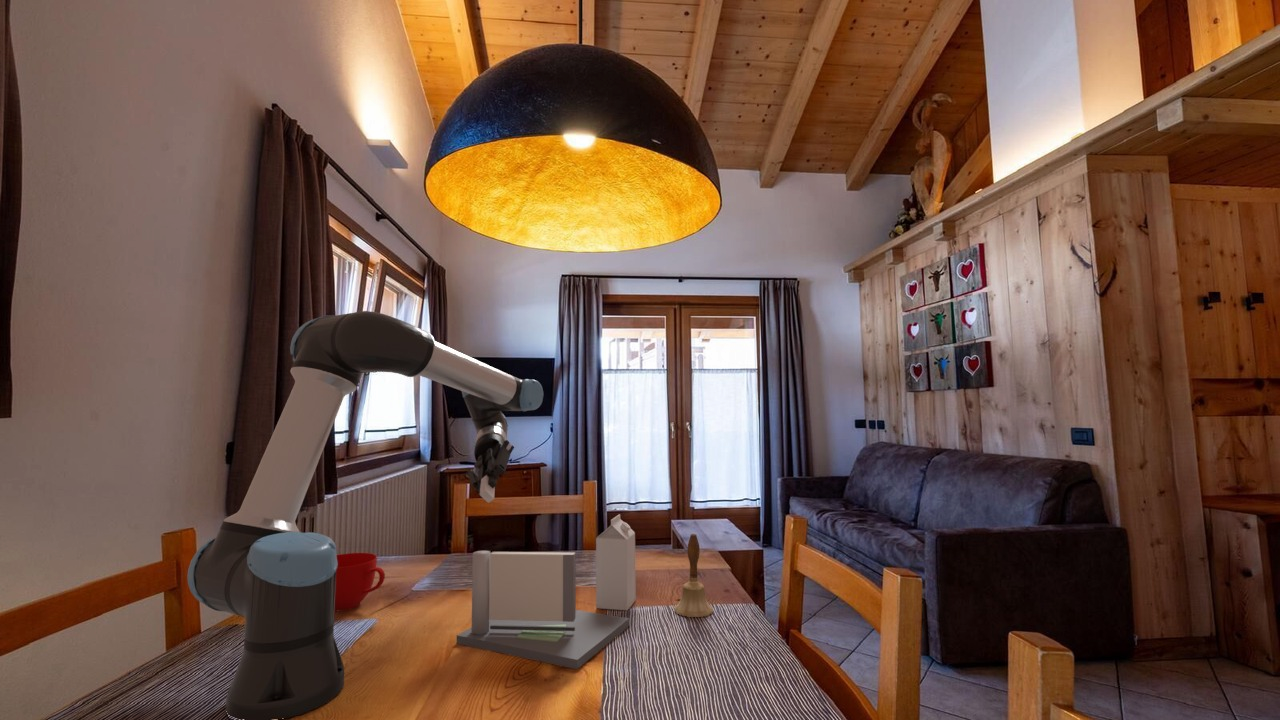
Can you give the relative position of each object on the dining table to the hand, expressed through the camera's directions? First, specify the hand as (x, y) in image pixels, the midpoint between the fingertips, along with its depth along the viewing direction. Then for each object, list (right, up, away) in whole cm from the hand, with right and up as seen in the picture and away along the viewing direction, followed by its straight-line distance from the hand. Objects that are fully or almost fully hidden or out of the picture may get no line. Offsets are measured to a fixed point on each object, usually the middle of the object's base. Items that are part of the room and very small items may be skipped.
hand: (486, 496), depth 113 cm
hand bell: (+43, -26, +4) cm, 50 cm away
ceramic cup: (-33, -27, +9) cm, 43 cm away
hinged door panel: (+10, -23, -10) cm, 27 cm away
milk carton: (+26, -26, +9) cm, 38 cm away
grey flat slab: (+13, -25, -7) cm, 29 cm away
